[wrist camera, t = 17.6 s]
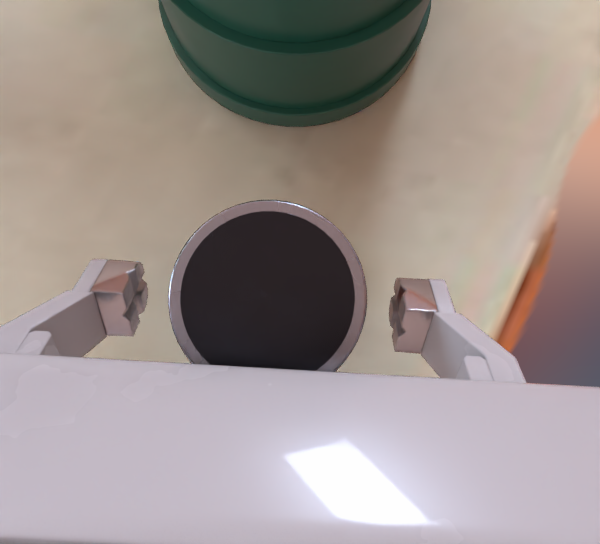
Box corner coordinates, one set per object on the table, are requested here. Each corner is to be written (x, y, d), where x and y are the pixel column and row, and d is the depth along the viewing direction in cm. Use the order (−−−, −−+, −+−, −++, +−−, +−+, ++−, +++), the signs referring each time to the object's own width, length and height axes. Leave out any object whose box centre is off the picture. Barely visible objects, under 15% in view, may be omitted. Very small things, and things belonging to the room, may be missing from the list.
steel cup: (192, 278, 20) (134, 251, 13) (305, 223, 21) (312, 166, 13) (247, 393, 20) (220, 436, 12) (361, 335, 20) (403, 341, 13)
